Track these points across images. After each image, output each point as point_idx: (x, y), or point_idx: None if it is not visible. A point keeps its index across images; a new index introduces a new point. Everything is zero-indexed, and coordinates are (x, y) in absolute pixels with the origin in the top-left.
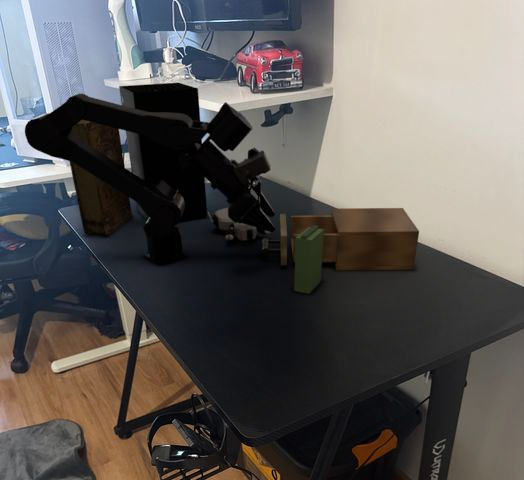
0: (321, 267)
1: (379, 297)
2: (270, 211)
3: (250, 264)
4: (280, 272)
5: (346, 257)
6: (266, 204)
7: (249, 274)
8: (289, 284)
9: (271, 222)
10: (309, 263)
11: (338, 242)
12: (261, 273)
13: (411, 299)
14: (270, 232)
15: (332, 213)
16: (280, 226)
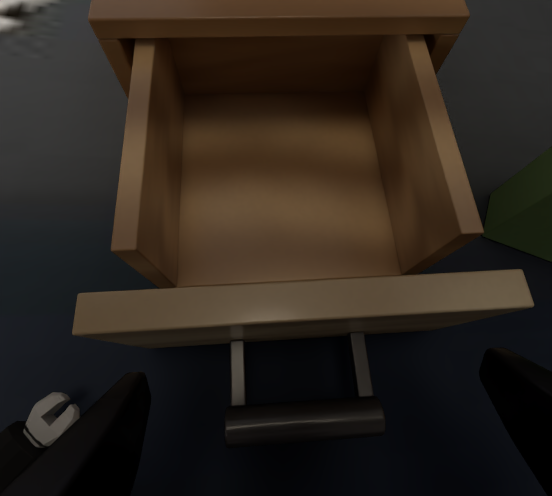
0: (531, 164)
1: (540, 65)
2: (129, 420)
3: (394, 485)
4: (450, 332)
5: None
6: (84, 489)
7: (504, 476)
8: (544, 294)
9: (541, 382)
10: None
11: (442, 62)
12: (479, 416)
13: (526, 11)
14: (72, 406)
15: (166, 23)
16: (320, 321)
